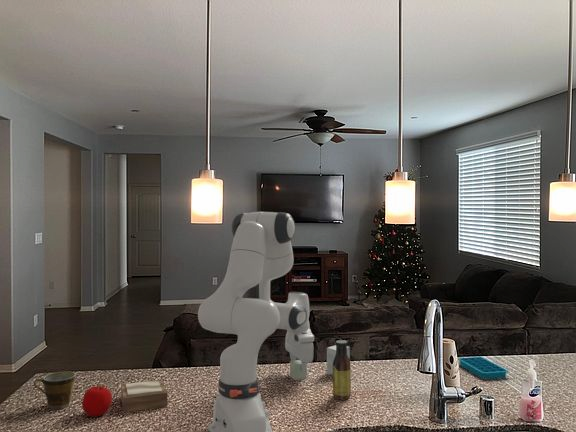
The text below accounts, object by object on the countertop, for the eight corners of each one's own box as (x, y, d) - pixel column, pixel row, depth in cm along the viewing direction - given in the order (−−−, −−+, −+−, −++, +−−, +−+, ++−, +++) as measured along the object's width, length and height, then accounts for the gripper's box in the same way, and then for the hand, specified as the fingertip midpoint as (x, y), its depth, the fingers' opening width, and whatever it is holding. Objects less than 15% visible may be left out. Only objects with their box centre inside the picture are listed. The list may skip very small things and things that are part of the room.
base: (167, 406, 169) (167, 391, 169) (123, 412, 164) (123, 397, 164) (161, 392, 182) (161, 378, 182) (120, 397, 177) (120, 383, 177)
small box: (339, 369, 208) (339, 343, 208) (350, 372, 204) (350, 346, 204) (326, 373, 203) (326, 347, 203) (336, 376, 199) (336, 350, 199)
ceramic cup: (79, 399, 175) (78, 370, 175) (71, 410, 165) (71, 380, 165) (38, 401, 173) (38, 372, 173) (29, 413, 163) (29, 382, 163)
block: (306, 378, 197) (306, 363, 197) (294, 380, 195) (294, 364, 195) (301, 374, 202) (301, 359, 202) (290, 376, 200) (290, 361, 200)
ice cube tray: (481, 363, 218) (481, 356, 218) (510, 379, 198) (510, 371, 198) (456, 365, 215) (456, 358, 215) (483, 380, 196) (483, 373, 196)
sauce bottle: (336, 392, 182) (336, 337, 181) (353, 395, 179) (353, 339, 179) (329, 399, 176) (330, 342, 175) (346, 402, 173) (347, 344, 173)
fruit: (115, 415, 161) (114, 384, 161) (84, 422, 157) (84, 390, 156) (108, 406, 169) (108, 376, 169) (79, 412, 164) (79, 381, 164)
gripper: (281, 327, 207) (281, 360, 207) (301, 339, 188) (301, 376, 188) (295, 325, 209) (295, 359, 210) (316, 338, 190) (316, 374, 191)
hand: (298, 367), depth 199 cm, fingers open, 8 cm apart
